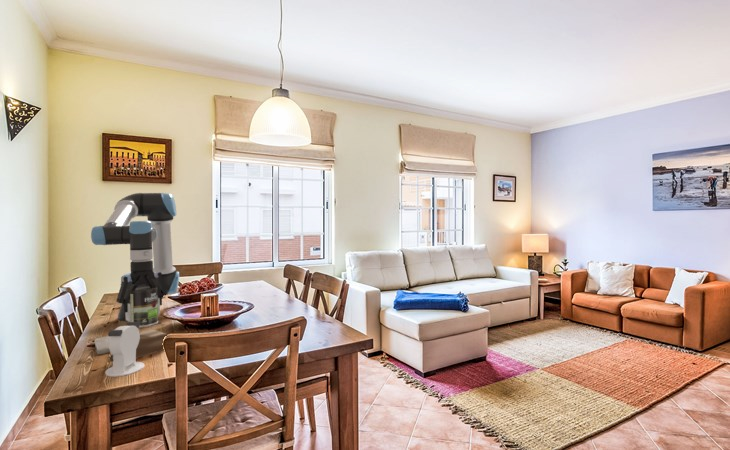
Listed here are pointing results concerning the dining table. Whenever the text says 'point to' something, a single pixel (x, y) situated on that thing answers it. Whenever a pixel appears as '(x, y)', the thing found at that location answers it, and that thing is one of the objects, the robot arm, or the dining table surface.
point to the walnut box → (150, 342)
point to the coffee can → (144, 306)
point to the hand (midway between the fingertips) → (143, 317)
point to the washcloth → (102, 345)
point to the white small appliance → (124, 350)
